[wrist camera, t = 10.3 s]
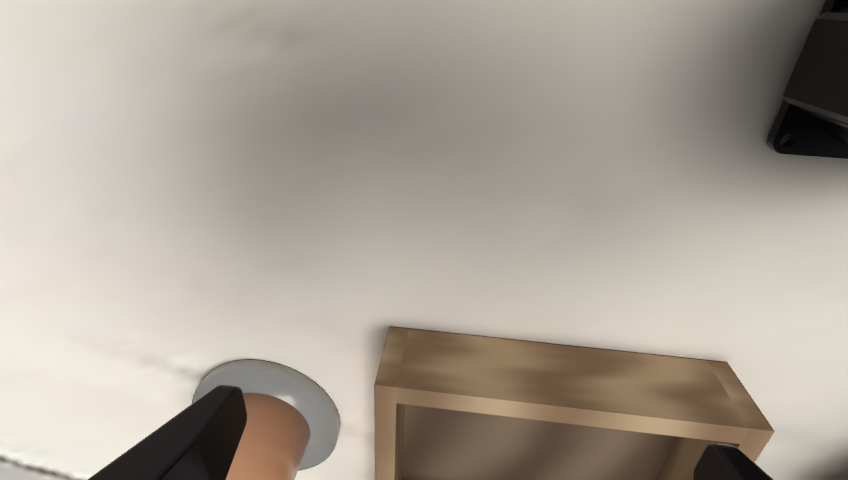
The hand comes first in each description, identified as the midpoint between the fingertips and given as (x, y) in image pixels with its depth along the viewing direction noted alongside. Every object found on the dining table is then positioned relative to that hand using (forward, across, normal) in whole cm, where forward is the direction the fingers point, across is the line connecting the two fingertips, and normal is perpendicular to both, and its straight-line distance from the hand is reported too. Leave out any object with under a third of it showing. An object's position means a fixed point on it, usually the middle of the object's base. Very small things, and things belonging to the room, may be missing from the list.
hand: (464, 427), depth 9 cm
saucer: (+12, +11, +16) cm, 23 cm away
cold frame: (+12, -5, +19) cm, 23 cm away
